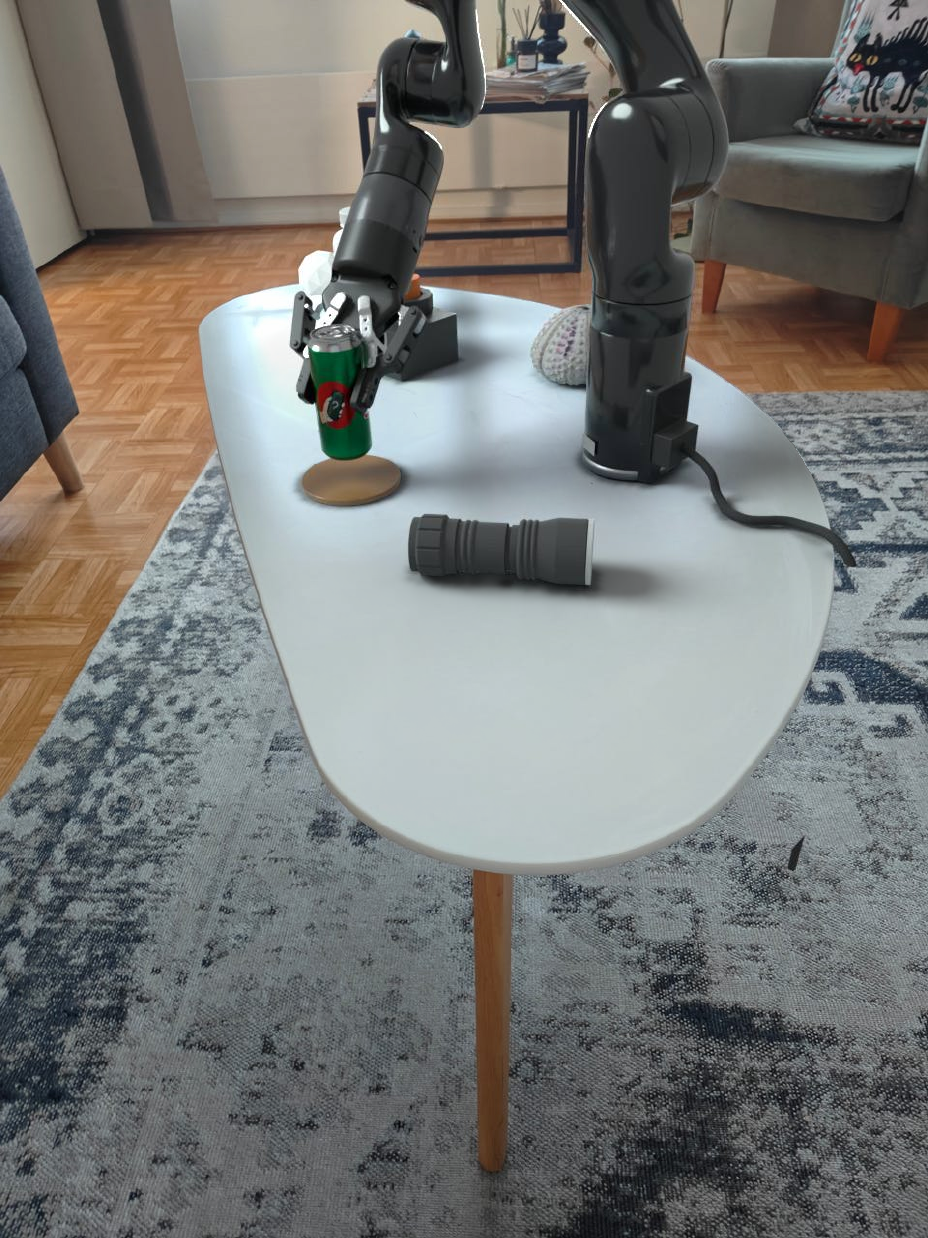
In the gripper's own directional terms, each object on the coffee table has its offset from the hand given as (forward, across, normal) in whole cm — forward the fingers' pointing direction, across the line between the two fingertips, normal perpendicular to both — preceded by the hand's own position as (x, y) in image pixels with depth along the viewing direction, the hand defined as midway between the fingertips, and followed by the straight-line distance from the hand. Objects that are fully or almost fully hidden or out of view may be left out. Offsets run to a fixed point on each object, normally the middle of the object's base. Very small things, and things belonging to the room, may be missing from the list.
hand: (331, 404), depth 85 cm
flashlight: (+12, +21, 0) cm, 24 cm away
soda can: (+3, 0, +5) cm, 6 cm away
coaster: (+5, 0, +7) cm, 9 cm away
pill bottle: (-26, -24, +40) cm, 53 cm away
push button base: (-17, -12, +30) cm, 37 cm away
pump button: (-24, -11, +26) cm, 37 cm away
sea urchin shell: (-20, +12, +33) cm, 41 cm away
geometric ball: (-29, -34, +43) cm, 62 cm away
